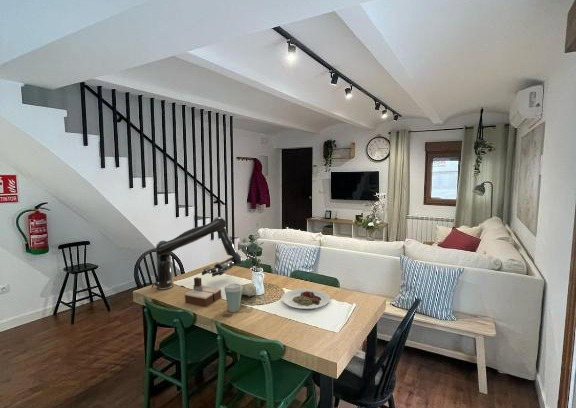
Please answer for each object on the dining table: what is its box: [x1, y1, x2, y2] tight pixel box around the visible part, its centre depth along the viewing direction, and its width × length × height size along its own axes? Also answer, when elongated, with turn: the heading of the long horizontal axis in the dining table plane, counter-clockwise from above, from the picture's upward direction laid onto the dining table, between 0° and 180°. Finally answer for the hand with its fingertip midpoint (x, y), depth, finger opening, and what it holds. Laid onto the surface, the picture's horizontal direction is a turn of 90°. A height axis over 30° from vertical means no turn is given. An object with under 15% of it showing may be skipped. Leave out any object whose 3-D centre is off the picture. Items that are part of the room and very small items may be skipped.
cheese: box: [241, 282, 257, 298], centre depth 206 cm, size 15×7×15 cm
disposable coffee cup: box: [223, 283, 244, 313], centre depth 184 cm, size 11×11×15 cm
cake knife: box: [192, 276, 204, 292], centre depth 200 cm, size 7×2×14 cm, turn 66°
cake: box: [184, 285, 222, 308], centre depth 199 cm, size 16×15×6 cm
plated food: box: [281, 288, 331, 310], centre depth 195 cm, size 30×30×3 cm
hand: (207, 274), depth 208 cm, fingers open, 8 cm apart
